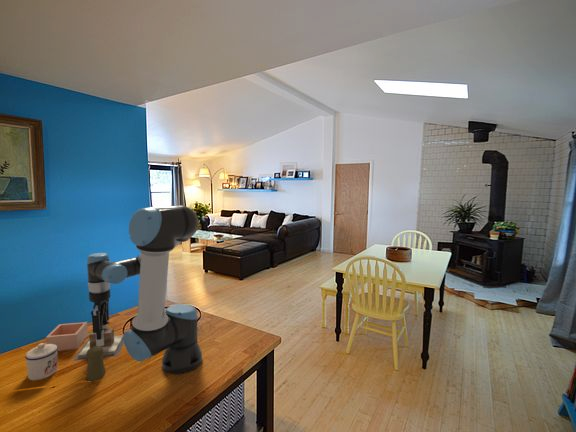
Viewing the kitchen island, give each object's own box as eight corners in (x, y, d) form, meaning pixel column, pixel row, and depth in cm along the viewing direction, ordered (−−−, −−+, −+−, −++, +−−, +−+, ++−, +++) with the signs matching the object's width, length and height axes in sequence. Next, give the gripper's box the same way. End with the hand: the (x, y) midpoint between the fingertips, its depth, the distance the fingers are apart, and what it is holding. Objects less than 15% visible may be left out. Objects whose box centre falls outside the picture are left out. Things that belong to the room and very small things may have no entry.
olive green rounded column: (109, 372, 109) (108, 345, 108) (94, 383, 103) (92, 354, 102) (98, 369, 111) (96, 342, 110) (82, 379, 105) (80, 350, 104)
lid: (114, 353, 120) (113, 337, 119) (78, 357, 116) (77, 341, 116) (123, 337, 132) (123, 322, 131) (91, 340, 129) (90, 325, 128)
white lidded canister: (49, 380, 104) (47, 350, 103) (20, 382, 102) (17, 352, 101) (68, 360, 116) (66, 332, 114) (42, 361, 114) (40, 334, 113)
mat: (117, 356, 119) (117, 355, 119) (72, 361, 115) (72, 360, 115) (128, 336, 134) (128, 335, 134) (88, 340, 130) (88, 339, 130)
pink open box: (77, 350, 123) (76, 334, 122) (46, 353, 120) (45, 337, 119) (88, 336, 133) (87, 322, 132) (60, 339, 130) (59, 324, 129)
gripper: (97, 283, 128) (99, 333, 131) (80, 298, 112) (83, 355, 115) (116, 282, 130) (118, 331, 133) (102, 297, 114) (105, 352, 117)
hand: (102, 342), depth 124 cm, fingers closed on lid, 4 cm apart
